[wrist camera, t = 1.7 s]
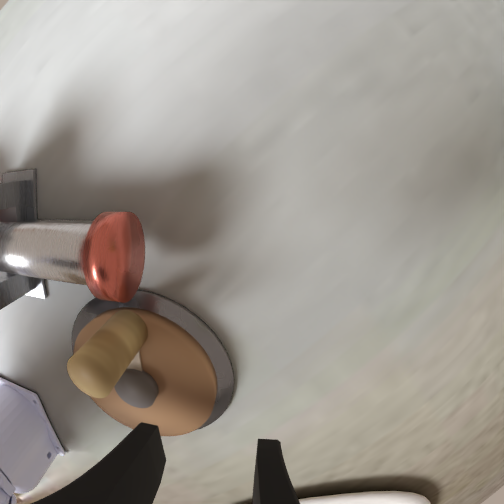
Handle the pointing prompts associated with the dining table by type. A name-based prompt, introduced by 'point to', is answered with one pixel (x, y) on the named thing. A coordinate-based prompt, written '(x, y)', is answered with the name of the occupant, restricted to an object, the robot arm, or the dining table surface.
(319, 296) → the dining table surface
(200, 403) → the handwheel
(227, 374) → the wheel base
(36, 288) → the eye bracket
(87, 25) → the dining table surface
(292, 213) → the dining table surface
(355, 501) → the plated food
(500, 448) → the dining table surface
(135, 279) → the copper capped rod
